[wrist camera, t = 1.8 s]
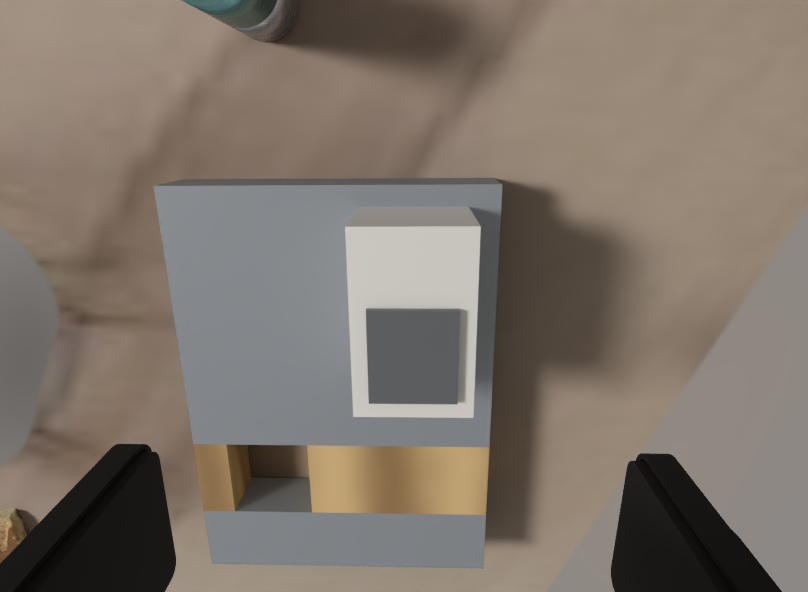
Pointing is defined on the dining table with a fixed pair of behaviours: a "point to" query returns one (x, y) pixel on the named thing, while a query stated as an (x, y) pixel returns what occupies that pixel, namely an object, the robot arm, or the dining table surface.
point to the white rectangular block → (413, 310)
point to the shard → (10, 532)
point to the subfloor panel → (317, 378)
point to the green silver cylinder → (253, 16)
